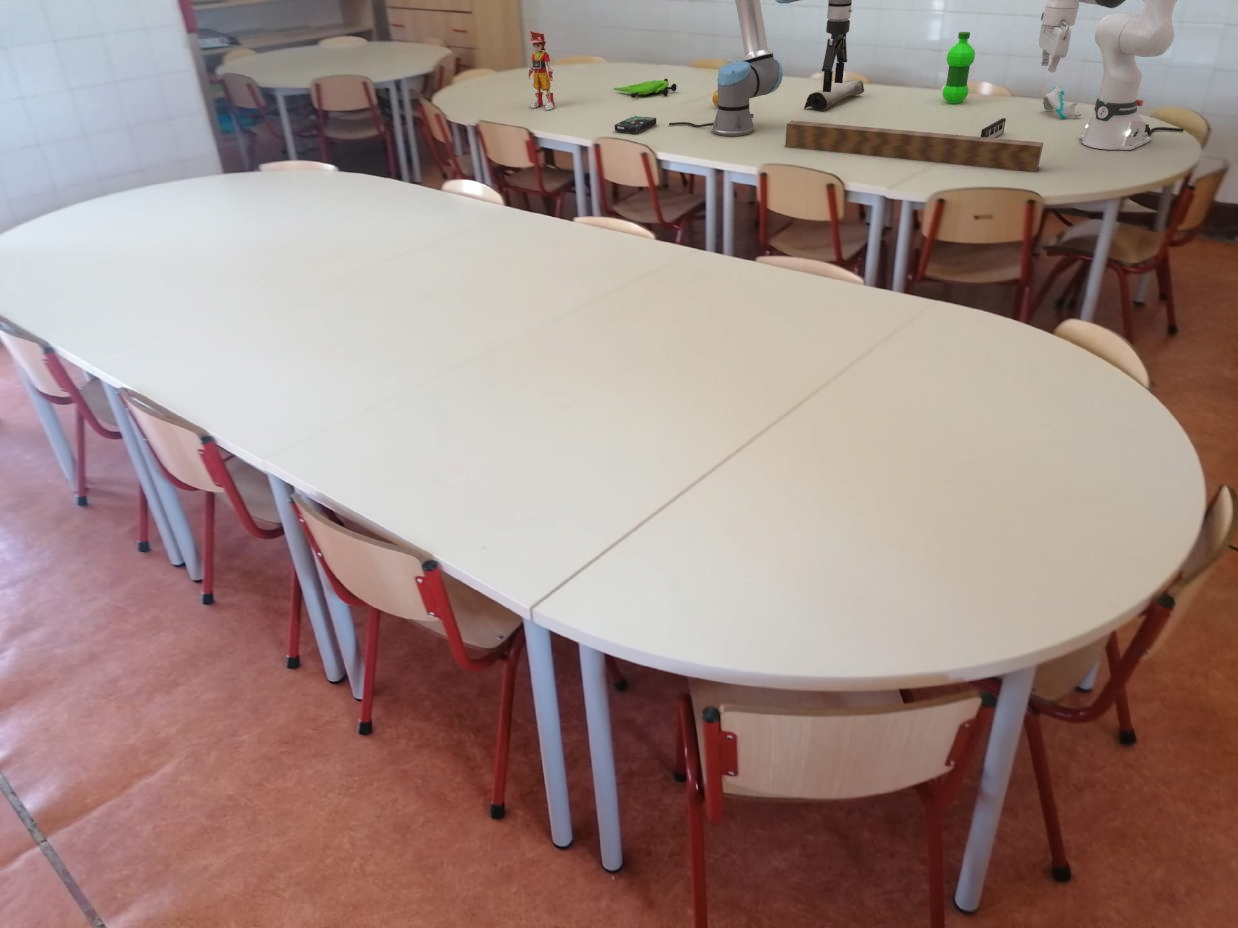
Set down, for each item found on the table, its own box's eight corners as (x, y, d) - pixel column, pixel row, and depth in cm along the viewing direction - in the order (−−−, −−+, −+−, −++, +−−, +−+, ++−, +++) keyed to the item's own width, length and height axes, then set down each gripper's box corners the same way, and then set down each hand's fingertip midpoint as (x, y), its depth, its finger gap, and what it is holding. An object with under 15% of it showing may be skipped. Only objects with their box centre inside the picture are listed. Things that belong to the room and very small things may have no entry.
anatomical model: (1037, 86, 333) (1064, 79, 332) (1036, 115, 339) (1062, 107, 338) (1056, 96, 321) (1084, 88, 320) (1055, 125, 327) (1082, 118, 326)
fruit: (706, 100, 364) (717, 82, 360) (712, 103, 371) (722, 85, 368) (723, 111, 362) (734, 93, 359) (728, 114, 370) (739, 96, 367)
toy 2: (686, 85, 398) (631, 84, 414) (685, 72, 395) (629, 72, 411) (651, 104, 381) (596, 103, 397) (650, 92, 378) (594, 91, 394)
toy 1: (525, 109, 381) (517, 32, 364) (534, 104, 388) (527, 28, 371) (550, 110, 377) (543, 32, 360) (559, 105, 384) (553, 28, 367)
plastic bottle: (973, 101, 354) (984, 32, 339) (955, 106, 349) (966, 36, 335) (952, 97, 361) (962, 29, 346) (934, 102, 356) (944, 33, 342)
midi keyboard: (982, 145, 305) (985, 130, 303) (979, 144, 306) (981, 129, 303) (1003, 133, 316) (1006, 118, 313) (999, 132, 317) (1002, 118, 314)
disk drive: (637, 135, 339) (656, 124, 349) (637, 127, 338) (656, 117, 348) (614, 132, 344) (634, 122, 354) (613, 125, 343) (633, 115, 353)
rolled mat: (839, 85, 375) (856, 69, 367) (851, 103, 375) (868, 87, 367) (800, 103, 358) (817, 87, 350) (813, 122, 358) (830, 107, 350)
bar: (785, 146, 317) (786, 123, 312) (790, 143, 320) (791, 120, 316) (1035, 172, 280) (1040, 146, 276) (1038, 168, 283) (1043, 142, 279)
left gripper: (838, 27, 286) (832, 96, 299) (860, 13, 304) (853, 80, 316) (815, 26, 289) (810, 95, 302) (838, 13, 307) (832, 78, 319)
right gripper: (1080, 23, 252) (1067, 76, 260) (1062, 13, 269) (1051, 62, 276) (1056, 23, 253) (1044, 75, 261) (1040, 13, 270) (1029, 62, 277)
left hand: (832, 87), depth 309 cm, fingers open, 13 cm apart
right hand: (1047, 68), depth 269 cm, fingers open, 8 cm apart
